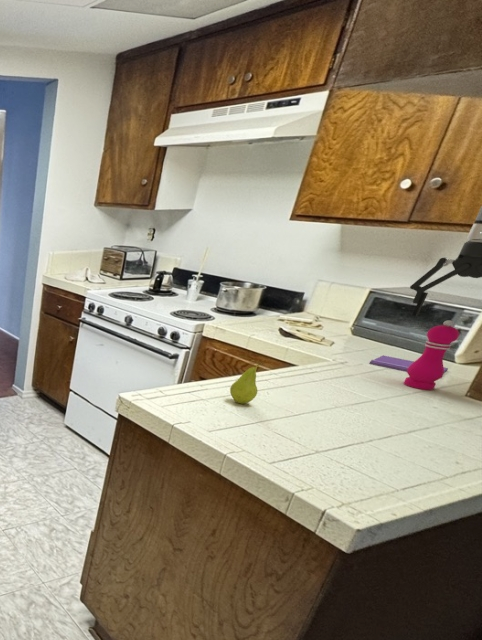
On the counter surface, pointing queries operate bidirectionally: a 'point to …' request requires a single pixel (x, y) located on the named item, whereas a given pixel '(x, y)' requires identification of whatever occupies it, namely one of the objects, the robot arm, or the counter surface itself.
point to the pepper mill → (432, 357)
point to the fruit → (245, 386)
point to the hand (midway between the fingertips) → (448, 320)
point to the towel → (394, 363)
